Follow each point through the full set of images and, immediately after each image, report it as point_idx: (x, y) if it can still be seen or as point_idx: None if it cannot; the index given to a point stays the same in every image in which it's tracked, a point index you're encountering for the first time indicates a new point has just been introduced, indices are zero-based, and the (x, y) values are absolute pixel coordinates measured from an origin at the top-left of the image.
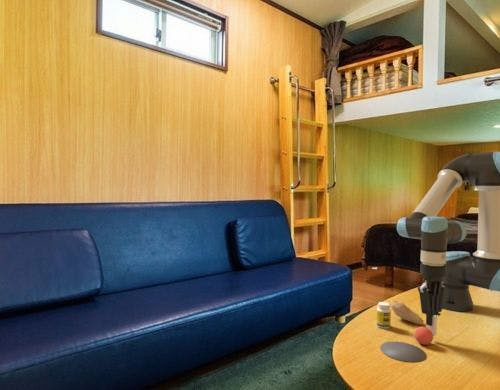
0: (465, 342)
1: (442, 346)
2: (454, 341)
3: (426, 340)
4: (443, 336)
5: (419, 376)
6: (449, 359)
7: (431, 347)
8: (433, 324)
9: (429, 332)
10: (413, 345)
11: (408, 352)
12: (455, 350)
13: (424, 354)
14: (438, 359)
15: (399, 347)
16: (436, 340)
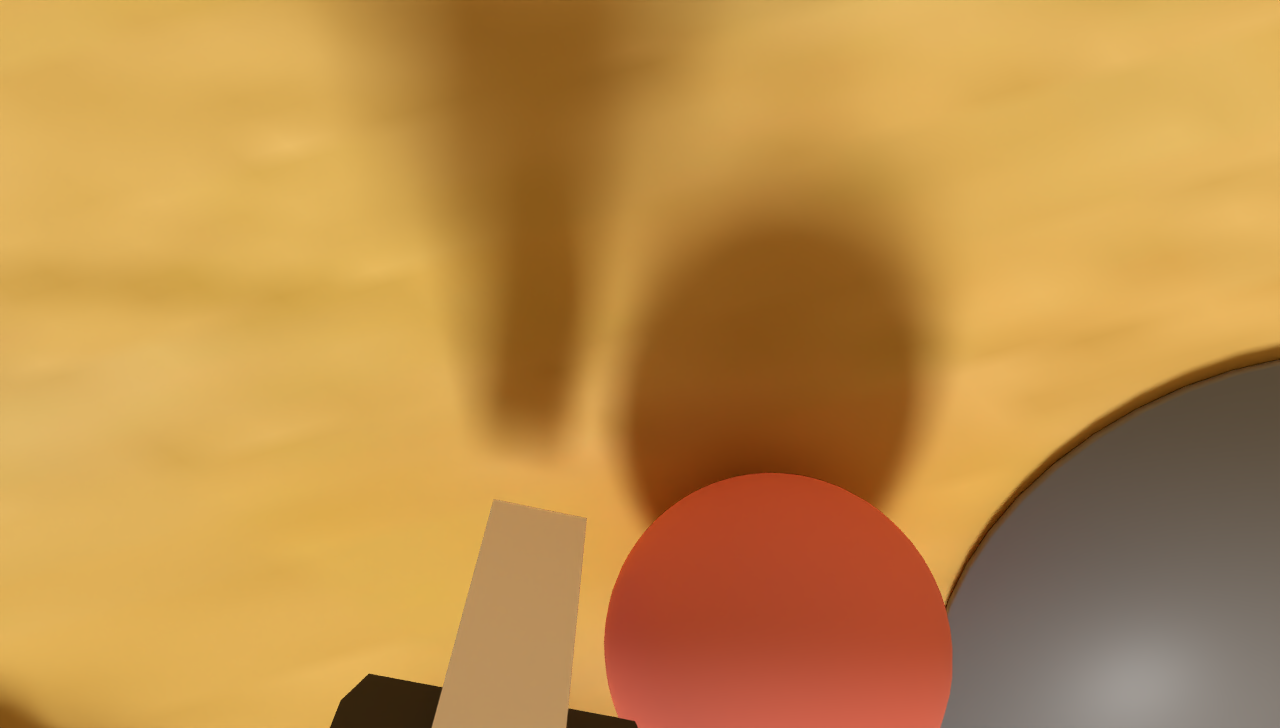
0: (28, 22)
1: (614, 298)
2: (187, 205)
3: (909, 544)
4: (141, 416)
5: None
6: (1122, 34)
7: (801, 416)
8: (567, 706)
9: (849, 619)
10: (954, 620)
11: (1276, 588)
12: (612, 66)
13: (1210, 406)
14: (1239, 185)
15: (1165, 719)
16: (432, 446)
